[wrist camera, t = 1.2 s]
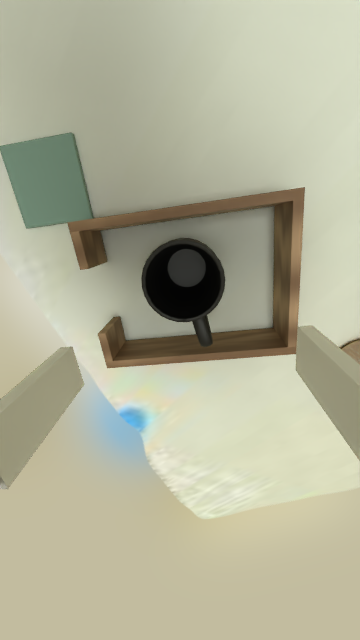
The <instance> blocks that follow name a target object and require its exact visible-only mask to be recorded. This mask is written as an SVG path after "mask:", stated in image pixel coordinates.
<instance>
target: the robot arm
mask: <svg viewBox="0 0 360 640" xmlns="http://www.w3.org/2000/svg"><path fill="white" fill-rule="evenodd" d="M296 371H297V373H298V374H299V375H300V377H301V378H302V380H303V381H304V383H305V384H306V385H307V387H308V388H309V390H310V391H311V392H312V394H313V395H314V397H315V398H316V400H317V401H318V402H319V404H320V405H321V407H322V408H323V410H324V411H325V412H326V414H327V415H328V417H329V418H330V419H331V421H332V422H333V424H334V425H335V427H336V428H337V429H338V431H339V432H340V434H341V435H342V436H343V438H344V439H345V441H346V442H347V444H348V445H349V446H350V448H351V449H352V451H353V452H354V453H355V455H356V456H357V458H358V459H359V461H360V364H358V363H357V362H356V361H355V360H354V359H352V358H351V357H350V356H349V355H348V354H346V353H345V352H344V351H343V350H341V349H340V348H339V347H338V346H337V345H335V344H334V343H333V342H332V341H331V340H329V339H328V338H327V337H326V336H324V335H323V334H322V333H321V332H320V331H318V330H317V329H316V328H315V327H314V326H301V327H298V331H297V352H296ZM83 386H84V382H83V379H82V376H81V373H80V369H79V366H78V363H77V360H76V357H75V354H74V350H73V347H62V348H60V349H58V350H57V351H56V352H55V353H54V354H53V355H51V356H50V357H49V358H48V359H47V360H46V361H44V362H43V363H42V364H41V365H40V366H38V367H37V368H36V369H35V370H34V371H33V372H31V373H30V374H29V375H28V376H27V377H26V378H24V379H23V380H22V381H21V382H20V383H19V384H17V386H15V387H14V388H13V389H12V390H11V391H9V392H8V393H7V394H6V395H5V396H3V397H2V398H1V399H0V489H8V488H9V487H10V485H11V484H12V482H13V481H14V480H15V478H16V477H17V476H18V474H19V473H20V472H21V470H22V469H23V468H24V466H25V465H26V463H27V462H28V461H29V459H30V458H31V457H32V455H33V454H34V452H35V451H36V450H37V448H38V447H39V446H40V444H41V443H42V442H43V440H44V439H45V438H46V436H47V435H48V433H49V432H50V431H51V429H52V428H53V427H54V425H55V424H56V422H57V421H58V420H59V418H60V417H61V416H62V414H63V413H64V412H65V410H66V409H67V407H68V406H69V405H70V403H71V402H72V401H73V399H74V398H75V397H76V395H77V394H78V392H79V391H80V390H81V388H82V387H83Z"/></svg>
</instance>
